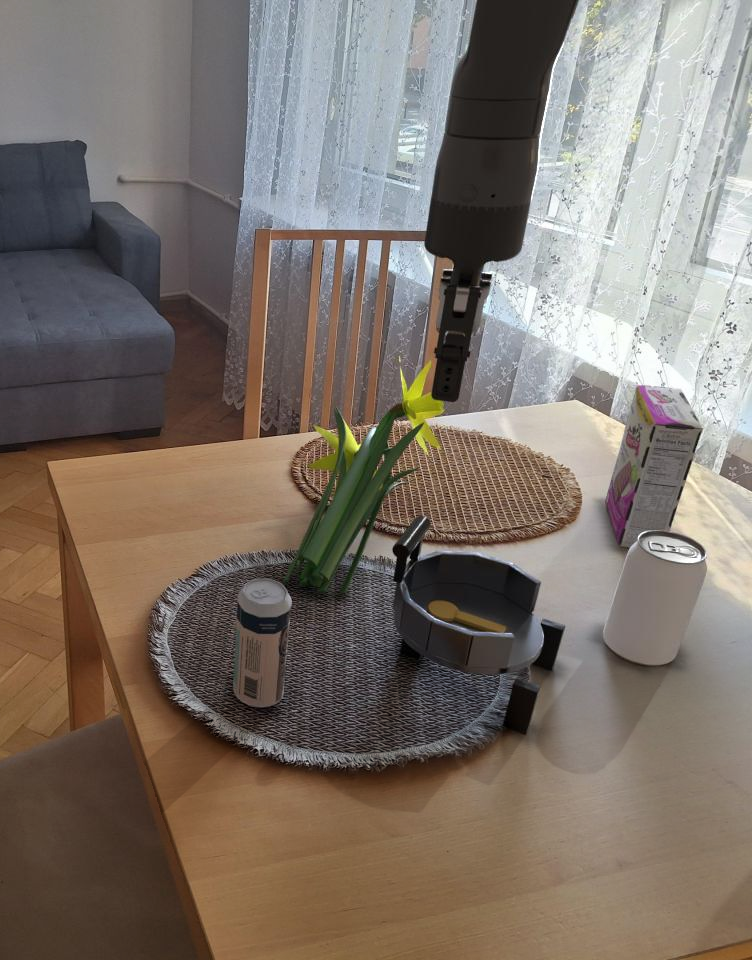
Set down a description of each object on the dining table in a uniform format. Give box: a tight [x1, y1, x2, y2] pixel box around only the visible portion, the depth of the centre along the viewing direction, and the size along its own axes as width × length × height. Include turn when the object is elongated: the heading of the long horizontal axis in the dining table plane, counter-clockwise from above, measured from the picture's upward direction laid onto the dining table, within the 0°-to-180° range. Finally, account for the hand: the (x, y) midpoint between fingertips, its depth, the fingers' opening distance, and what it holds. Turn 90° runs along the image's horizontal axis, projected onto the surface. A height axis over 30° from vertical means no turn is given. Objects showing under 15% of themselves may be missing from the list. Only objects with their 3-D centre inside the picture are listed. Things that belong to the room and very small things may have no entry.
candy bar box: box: [604, 384, 704, 550], centre depth 101 cm, size 11×5×16 cm, turn 161°
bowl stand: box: [399, 618, 566, 736], centre depth 82 cm, size 13×11×5 cm
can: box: [602, 530, 708, 667], centre depth 83 cm, size 6×6×12 cm
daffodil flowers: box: [281, 355, 445, 597], centre depth 104 cm, size 17×15×35 cm
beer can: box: [232, 578, 293, 708], centre depth 79 cm, size 5×5×12 cm
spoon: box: [428, 600, 506, 633], centre depth 81 cm, size 7×3×1 cm, turn 54°
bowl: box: [391, 515, 544, 676], centre depth 79 cm, size 14×13×9 cm
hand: (448, 381), depth 77 cm, fingers open, 8 cm apart
